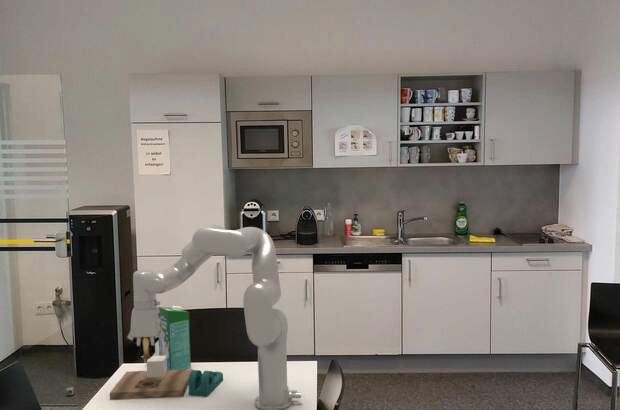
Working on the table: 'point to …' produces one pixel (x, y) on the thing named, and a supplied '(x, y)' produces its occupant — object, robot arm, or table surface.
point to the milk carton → (175, 338)
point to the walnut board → (151, 385)
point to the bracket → (203, 382)
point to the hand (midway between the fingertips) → (146, 355)
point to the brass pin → (146, 347)
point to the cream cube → (156, 366)
